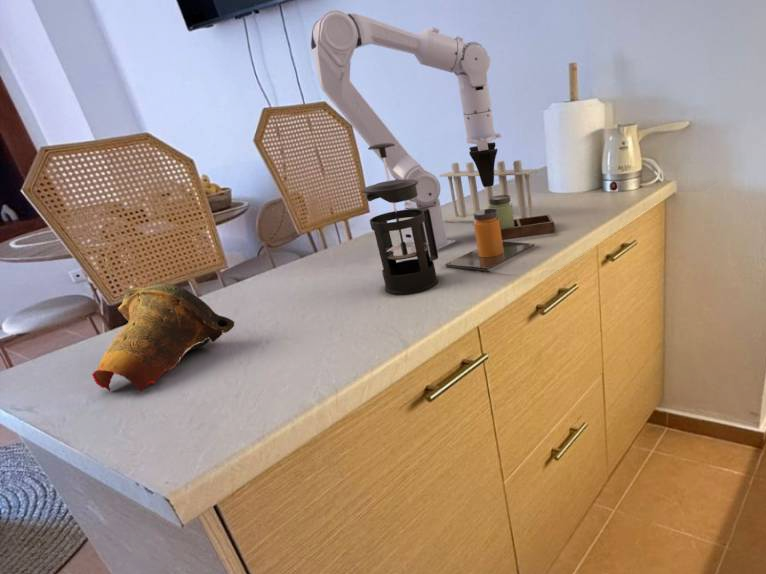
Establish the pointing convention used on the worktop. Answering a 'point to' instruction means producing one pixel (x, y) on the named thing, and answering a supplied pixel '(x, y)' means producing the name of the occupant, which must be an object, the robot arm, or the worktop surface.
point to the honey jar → (488, 233)
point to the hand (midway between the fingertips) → (487, 183)
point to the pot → (158, 333)
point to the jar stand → (529, 227)
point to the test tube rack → (488, 189)
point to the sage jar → (503, 210)
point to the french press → (409, 272)
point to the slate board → (488, 258)
